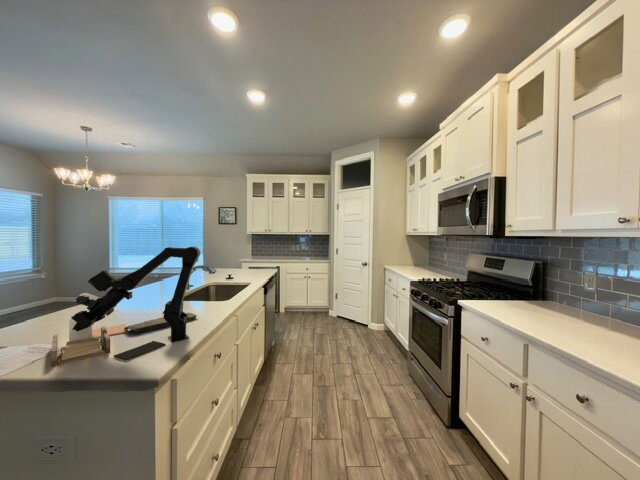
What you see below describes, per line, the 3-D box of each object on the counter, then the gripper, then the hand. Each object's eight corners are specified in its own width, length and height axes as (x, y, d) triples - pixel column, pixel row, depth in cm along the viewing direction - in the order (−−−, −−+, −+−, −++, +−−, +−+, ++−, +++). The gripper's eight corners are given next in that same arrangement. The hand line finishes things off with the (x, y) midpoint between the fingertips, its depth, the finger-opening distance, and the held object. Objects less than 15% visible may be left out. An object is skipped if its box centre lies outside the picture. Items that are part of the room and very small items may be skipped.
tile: (128, 332, 116) (128, 330, 116) (93, 339, 108) (93, 337, 108) (124, 325, 125) (124, 324, 125) (91, 331, 116) (91, 330, 116)
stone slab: (123, 324, 118) (188, 309, 142) (123, 331, 118) (188, 314, 142) (132, 330, 112) (199, 312, 136) (132, 337, 112) (199, 319, 136)
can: (74, 344, 103) (74, 314, 103) (94, 342, 105) (95, 312, 105) (65, 351, 97) (65, 319, 96) (87, 348, 99) (87, 317, 99)
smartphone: (166, 343, 103) (125, 359, 89) (166, 346, 103) (125, 363, 89) (154, 340, 106) (112, 355, 92) (154, 343, 106) (112, 358, 92)
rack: (110, 352, 96) (110, 339, 96) (51, 366, 86) (51, 351, 85) (104, 337, 110) (104, 325, 110) (53, 348, 99) (53, 335, 99)
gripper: (105, 282, 111) (73, 309, 108) (78, 291, 93) (39, 324, 90) (126, 299, 113) (96, 327, 110) (105, 311, 95) (67, 344, 92)
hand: (76, 330), depth 100 cm, fingers closed on can, 5 cm apart
